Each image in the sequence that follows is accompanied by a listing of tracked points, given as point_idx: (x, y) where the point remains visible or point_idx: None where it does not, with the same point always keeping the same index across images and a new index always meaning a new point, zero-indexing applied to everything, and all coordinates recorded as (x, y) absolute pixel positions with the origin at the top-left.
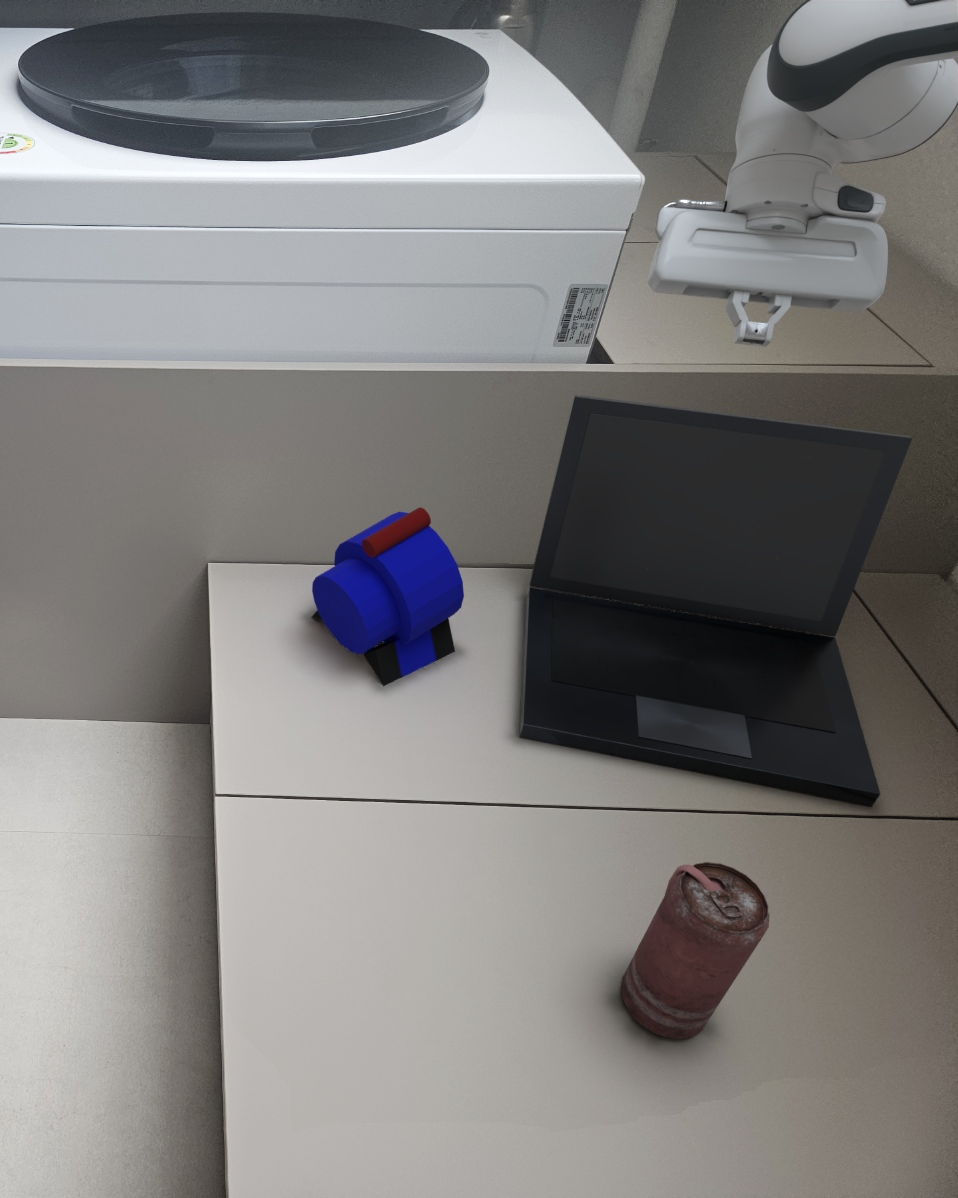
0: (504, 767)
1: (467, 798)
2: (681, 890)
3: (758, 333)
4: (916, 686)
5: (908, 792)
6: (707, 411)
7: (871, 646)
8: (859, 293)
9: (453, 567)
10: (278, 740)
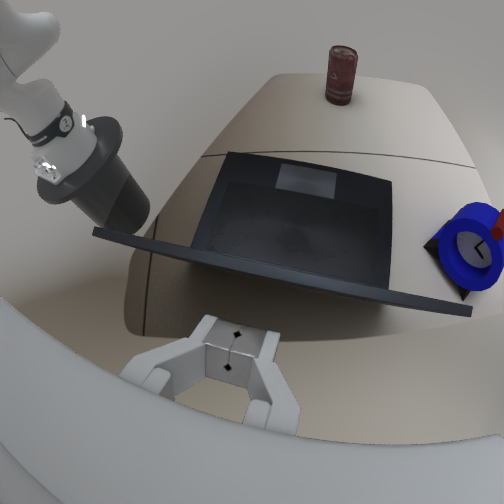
0: (393, 172)
1: (405, 159)
2: (356, 52)
3: (233, 328)
4: (158, 233)
5: (207, 166)
6: (315, 283)
7: (163, 265)
8: (2, 305)
9: (464, 216)
10: (473, 190)
